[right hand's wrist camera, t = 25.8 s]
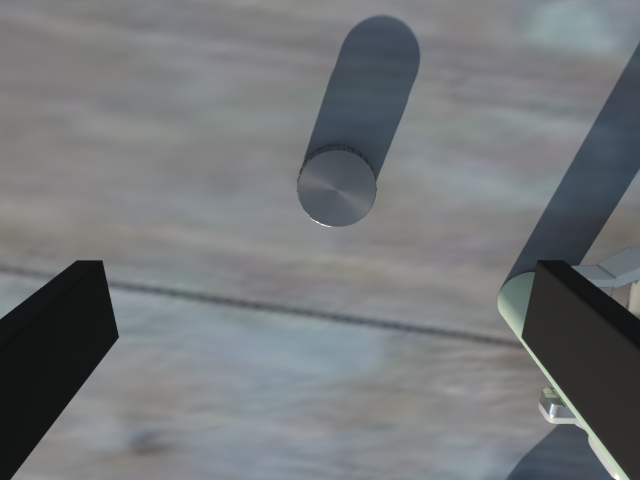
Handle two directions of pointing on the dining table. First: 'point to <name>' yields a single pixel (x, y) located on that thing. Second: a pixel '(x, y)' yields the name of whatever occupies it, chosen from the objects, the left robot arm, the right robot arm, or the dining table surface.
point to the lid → (336, 186)
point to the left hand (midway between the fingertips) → (556, 348)
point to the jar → (514, 312)
